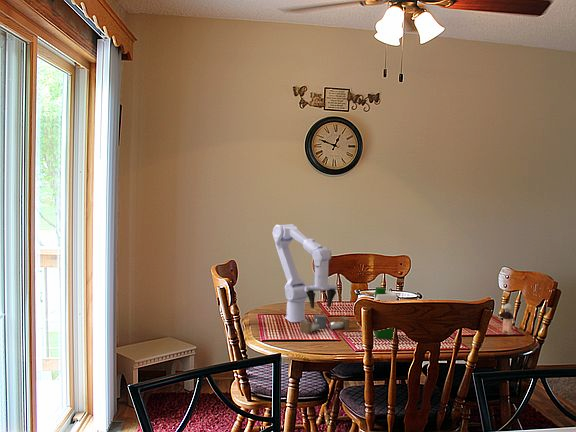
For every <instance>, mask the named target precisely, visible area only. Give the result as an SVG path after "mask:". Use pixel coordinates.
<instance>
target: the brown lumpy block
mask: <svg viewBox="0 0 576 432" xmlns="http://www.w3.org/2000/svg"><path fill="white" fill-rule="evenodd" d="M320 329H321V328H320V325H319V324H318V323H315V324H314V323H312V322H310V321H300V322H299V331H301V333H303V332H304V334H305V335H310V334H312V332H316V331H320Z"/></svg>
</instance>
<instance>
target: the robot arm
mask: <svg viewBox="0 0 576 432" xmlns="http://www.w3.org/2000/svg"><path fill="white" fill-rule="evenodd" d="M272 237H273V240H274V243H275V248H276V251H277V254H278V258H279V261H280V263H281V267H282V270H283V272H284V276H285V279H286V281H287V282H286V283H285V285H284V293H285V298H286V300H287V302H286V316H284V318H285V319H286V320H287V321H289V322H290V323H300V321H307V322H309V321H308V319H307V318H305V317H306V316H305V313H306V310H305V309H306V307H305V306H306V301H307V298H308V301H309V304H310V308H311V309H315V297H316V293H315V292H319V291H321V292H322V291H326V295H327V296H326V297H327V298H326V307H328V308H331V306H332V302H333V299H334V298H335V295H336V294H337V291H338V285H337V284H329V262H330V260H331V259H332V251H331V249H330V248H329V247H324V246H323V245H322V244H319V243H318V242H317V241H316V239H315V238H307V236H306V235H304V234H303V233H302V232H301V231H300V230H299V229H298V226H296V225H295V224H293V223H290V224H275V225H274V227H273V228H272ZM293 240H295V241H296V242H298V243H299V244H301V245H302V247H303V250H305V251H306V252H307V253H308V254H309V255H311V257H312V260H313V264H314V284H313V285H306V283H305V280H303V279H301V278H300V277H299V274H298V272H297V268H296V265H295V262H294V259H293V256H292V253H291V250H290V248H289V246H290V244H291V243H292V242H293Z"/></svg>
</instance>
